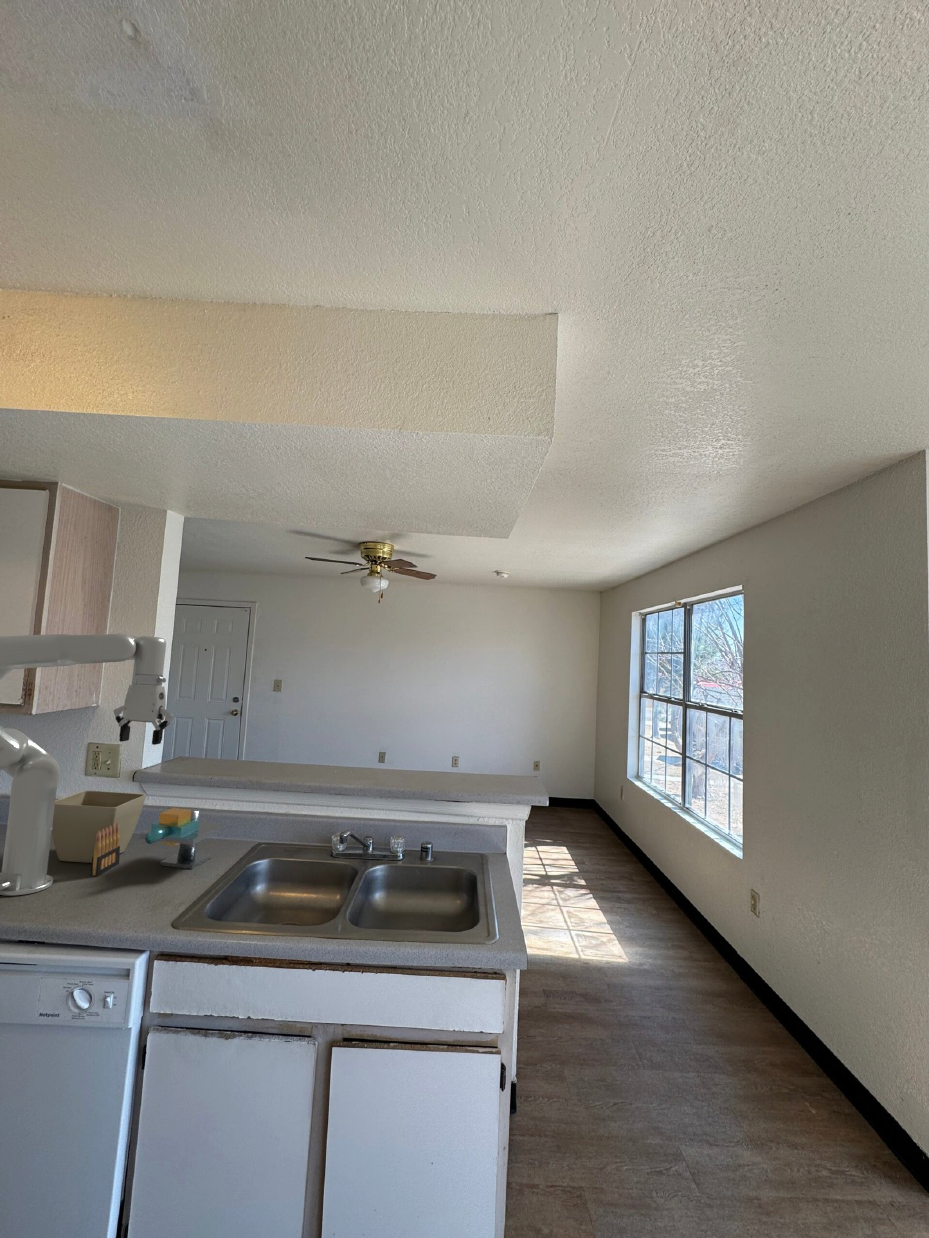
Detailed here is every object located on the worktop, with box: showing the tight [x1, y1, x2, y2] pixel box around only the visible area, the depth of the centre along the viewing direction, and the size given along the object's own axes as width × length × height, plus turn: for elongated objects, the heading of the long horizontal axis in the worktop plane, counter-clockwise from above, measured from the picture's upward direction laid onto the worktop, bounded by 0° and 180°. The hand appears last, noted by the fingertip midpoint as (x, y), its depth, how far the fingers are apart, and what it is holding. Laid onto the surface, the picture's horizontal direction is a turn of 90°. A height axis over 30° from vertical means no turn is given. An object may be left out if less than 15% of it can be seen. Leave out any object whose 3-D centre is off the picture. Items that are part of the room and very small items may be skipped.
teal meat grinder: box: [139, 807, 226, 870], centre depth 175 cm, size 25×16×15 cm, turn 173°
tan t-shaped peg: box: [158, 807, 191, 846], centre depth 174 cm, size 6×6×9 cm
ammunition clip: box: [90, 822, 121, 877], centre depth 170 cm, size 11×2×12 cm, turn 0°
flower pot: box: [51, 789, 147, 864], centre depth 180 cm, size 19×19×17 cm
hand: (140, 742), depth 169 cm, fingers open, 9 cm apart
